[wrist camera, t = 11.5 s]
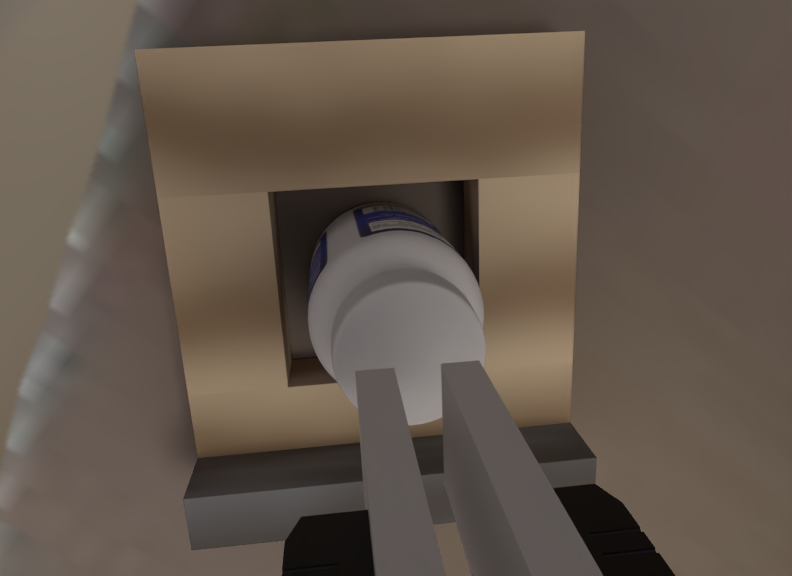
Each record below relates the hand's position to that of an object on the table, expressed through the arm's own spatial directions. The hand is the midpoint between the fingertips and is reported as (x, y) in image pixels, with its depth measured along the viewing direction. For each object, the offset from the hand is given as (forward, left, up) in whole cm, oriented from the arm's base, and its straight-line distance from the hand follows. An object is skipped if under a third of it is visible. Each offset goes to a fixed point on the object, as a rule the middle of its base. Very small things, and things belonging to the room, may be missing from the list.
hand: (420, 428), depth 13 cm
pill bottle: (0, 0, -13) cm, 13 cm away
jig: (0, 0, -12) cm, 12 cm away
